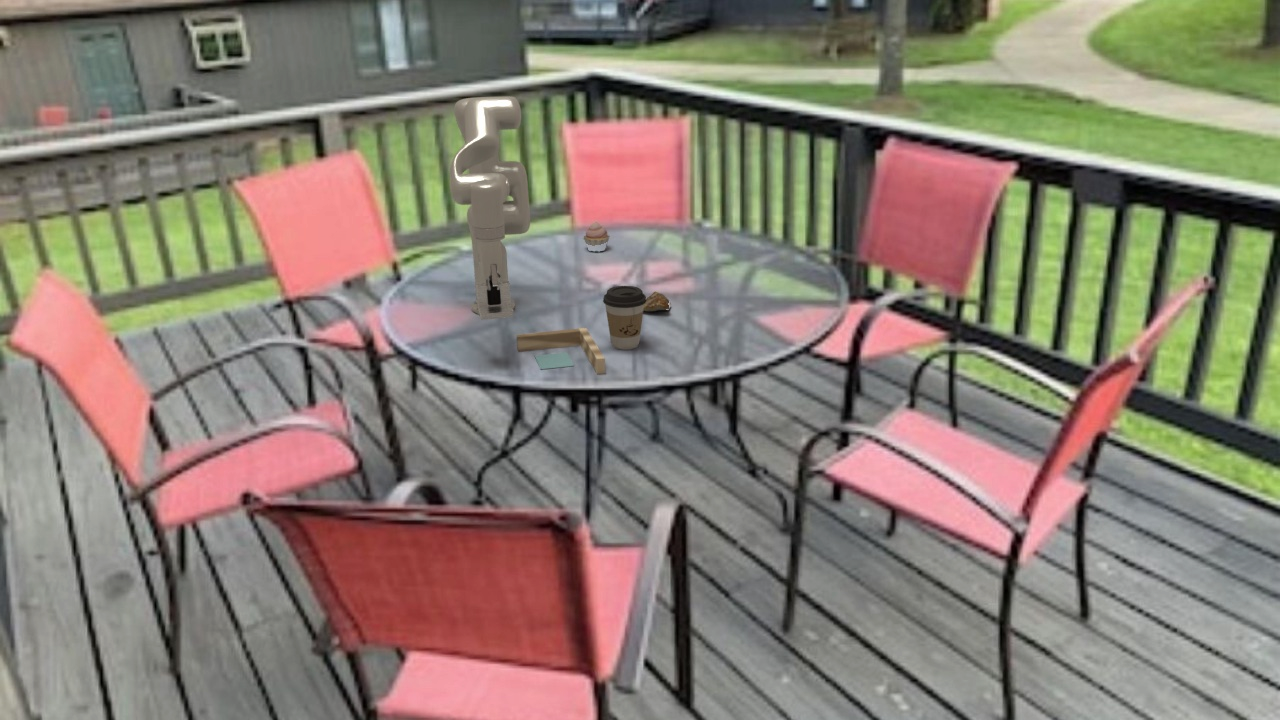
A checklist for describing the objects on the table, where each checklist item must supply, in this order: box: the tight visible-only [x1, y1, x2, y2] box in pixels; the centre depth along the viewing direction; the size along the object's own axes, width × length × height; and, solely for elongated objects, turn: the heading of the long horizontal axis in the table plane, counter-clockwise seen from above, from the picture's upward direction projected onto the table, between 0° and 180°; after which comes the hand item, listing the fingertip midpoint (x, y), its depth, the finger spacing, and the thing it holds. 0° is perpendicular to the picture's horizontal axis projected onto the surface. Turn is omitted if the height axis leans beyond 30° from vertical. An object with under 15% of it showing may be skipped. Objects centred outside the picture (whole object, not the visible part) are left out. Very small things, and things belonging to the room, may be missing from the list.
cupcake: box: [583, 221, 610, 246], centre depth 343 cm, size 9×9×10 cm
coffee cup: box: [602, 285, 647, 351], centre depth 261 cm, size 11×11×15 cm
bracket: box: [475, 280, 515, 321], centre depth 246 cm, size 8×7×7 cm
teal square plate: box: [534, 352, 575, 371], centre depth 253 cm, size 9×8×1 cm
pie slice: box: [643, 291, 670, 312], centre depth 289 cm, size 10×4×15 cm
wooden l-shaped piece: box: [516, 327, 606, 375], centre depth 253 cm, size 22×18×4 cm
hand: (493, 302), depth 249 cm, fingers closed on bracket
